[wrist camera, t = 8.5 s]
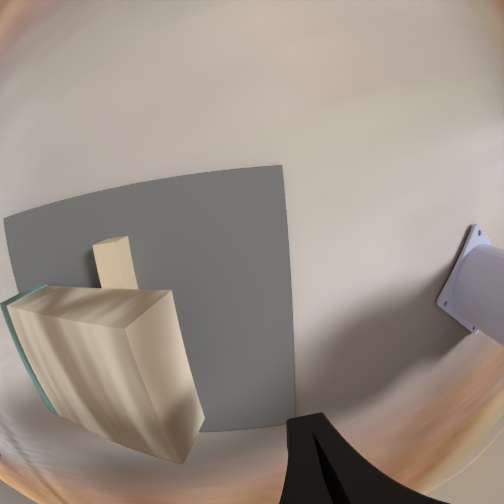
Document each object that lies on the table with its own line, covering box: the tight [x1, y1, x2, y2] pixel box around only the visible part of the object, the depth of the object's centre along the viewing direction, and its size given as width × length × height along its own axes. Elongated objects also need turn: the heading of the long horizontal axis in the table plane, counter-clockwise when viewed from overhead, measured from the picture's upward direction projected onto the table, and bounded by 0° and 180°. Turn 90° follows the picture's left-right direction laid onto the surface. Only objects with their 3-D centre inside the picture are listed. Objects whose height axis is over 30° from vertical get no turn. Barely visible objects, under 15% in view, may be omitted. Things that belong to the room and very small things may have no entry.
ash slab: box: [0, 284, 205, 464], centre depth 13 cm, size 4×9×12 cm
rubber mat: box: [3, 165, 295, 432], centre depth 16 cm, size 21×20×2 cm
